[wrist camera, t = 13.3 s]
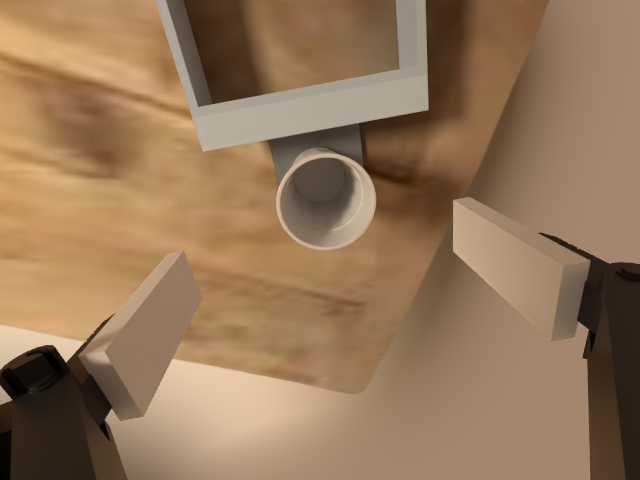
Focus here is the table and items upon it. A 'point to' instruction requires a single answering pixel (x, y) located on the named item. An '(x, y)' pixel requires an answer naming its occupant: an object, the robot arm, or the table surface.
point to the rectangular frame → (302, 103)
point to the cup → (325, 200)
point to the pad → (335, 139)
